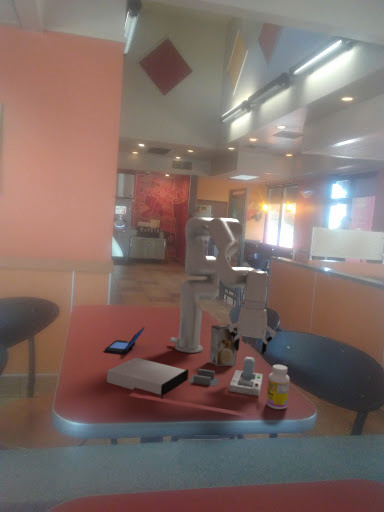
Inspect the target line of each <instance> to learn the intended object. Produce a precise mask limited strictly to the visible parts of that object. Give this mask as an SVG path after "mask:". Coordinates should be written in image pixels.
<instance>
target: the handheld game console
mask: <svg viewBox="0 0 384 512" xmlns="http://www.w3.org/2000/svg"><path fill="white" fill-rule="evenodd" d="M145 328H146V327H145V326H142V328H141V329H140V330H139V331H137V332H136V333H135V334H134V335H133V337H132V338H131V339H130V341H128V340H121V339H120V340H119V339H116V340H114V341H113V342H112V343H111V344H110V345H108V346H106V348H105V349H104V353H108V352H110V353H109V354H116V353H118V355H123V354H125V355H126V354H127V353H128V352H129V350H130V349H132V348H133V347H134V346H135V345H136V342H137V340H138V338H139V337H140V336H141V334H142V333H143V331H144V330H145ZM126 352H127V353H126Z"/></svg>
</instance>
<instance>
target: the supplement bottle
mask: <svg viewBox="0 0 384 512" xmlns="http://www.w3.org/2000/svg"><path fill="white" fill-rule="evenodd" d="M288 369H289V368H288V367H287V366H286V365H283V364H274V365H272V372H270V373H269V375H268V379H267V380H268V381H267V391H266V403H265V404H266V405H267V407H270V408H272V409H274V410H284V409H286V408H287V407H288V400H289V389H290V380H291V379H290V376H289V375H288V374H287V373H288Z"/></svg>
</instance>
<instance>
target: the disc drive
mask: <svg viewBox="0 0 384 512" xmlns="http://www.w3.org/2000/svg"><path fill="white" fill-rule="evenodd" d="M188 380H189V369H183V368H180V367H175V366H171V365H168V364H163V363H160V362H156V361H151V360H148V359H143V358H139V357H134V358H132V359H130V360H129V359H128V361H125V362H122V363H120V364H119V365H116V366H114V367H112V368H110V369H107V376H106V383H109V384H113V385H116V386H118V387H122V388H125V389H128V390H135V388H136V389H140V390H143V391H146V392H151V393H153V394H156V395H159V396H158V398H160V399H164V397H163V396H164V395H166V394H168V393H169V392H171V391H172V390H173V389H175V388H177V387H179V386H180V385H182V384H184V382H186V381H188ZM161 396H162V397H161Z"/></svg>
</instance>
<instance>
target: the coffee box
mask: <svg viewBox="0 0 384 512" xmlns="http://www.w3.org/2000/svg"><path fill="white" fill-rule="evenodd" d="M230 325H231V324H218V325H216V324H215V325H211V334H210V347H209V348H210V350H209V359H208V360H209V363H211V364H213V365H214V366H216V367H224V366H228V367H229V366H231V367H236V364H237V353H238V351H236V348H235V339H234V337H233V336H232V335H231V332H230V331H229V328H228V327H229V326H230ZM237 328H238V327H235V328H233V330H234V332H235V333H236V334H237Z"/></svg>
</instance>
